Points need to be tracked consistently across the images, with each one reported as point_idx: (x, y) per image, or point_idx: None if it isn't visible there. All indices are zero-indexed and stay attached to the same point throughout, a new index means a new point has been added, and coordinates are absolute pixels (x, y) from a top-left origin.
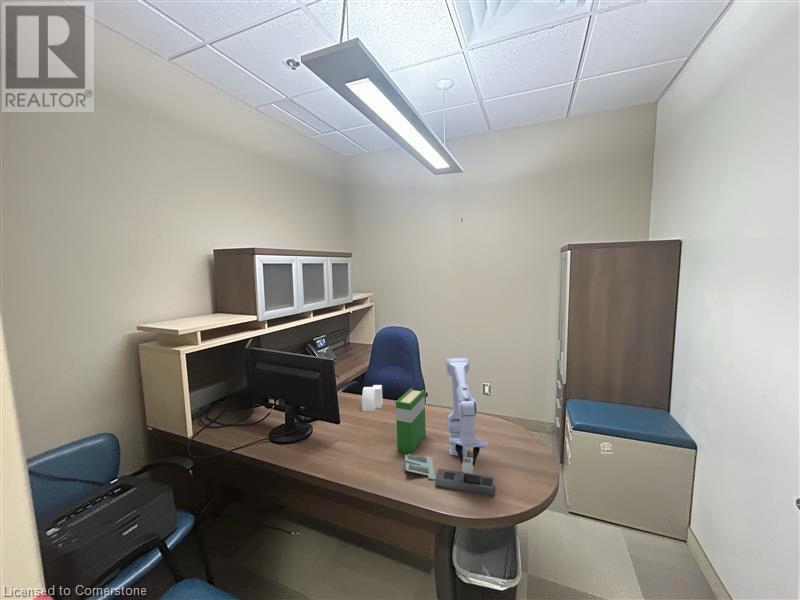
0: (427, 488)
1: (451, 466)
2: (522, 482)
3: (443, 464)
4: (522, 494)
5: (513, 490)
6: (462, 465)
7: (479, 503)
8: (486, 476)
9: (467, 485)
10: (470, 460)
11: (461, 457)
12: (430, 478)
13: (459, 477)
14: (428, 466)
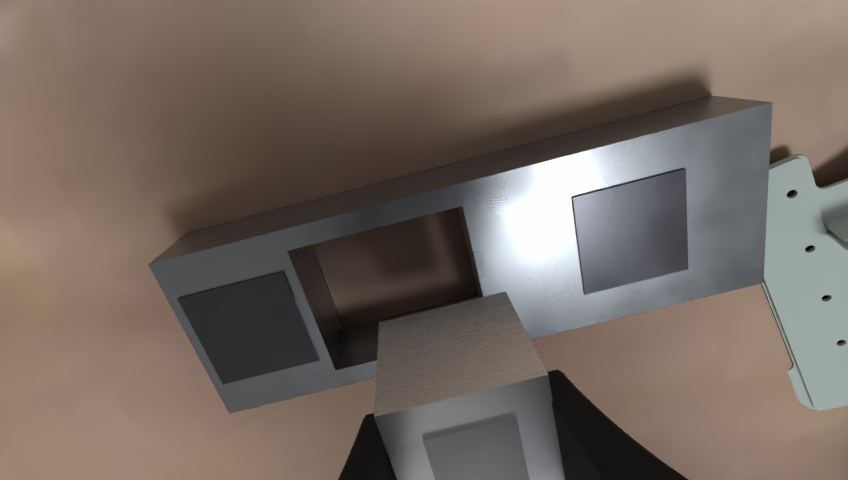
0: (782, 26)
1: (629, 395)
2: (80, 475)
3: (697, 388)
4: (5, 365)
5: (87, 373)
6: (526, 344)
7: (247, 80)
8: (289, 391)
9: (407, 193)
10: (435, 471)
11: (593, 453)
12: (787, 160)
13: (522, 260)
14: (831, 300)
